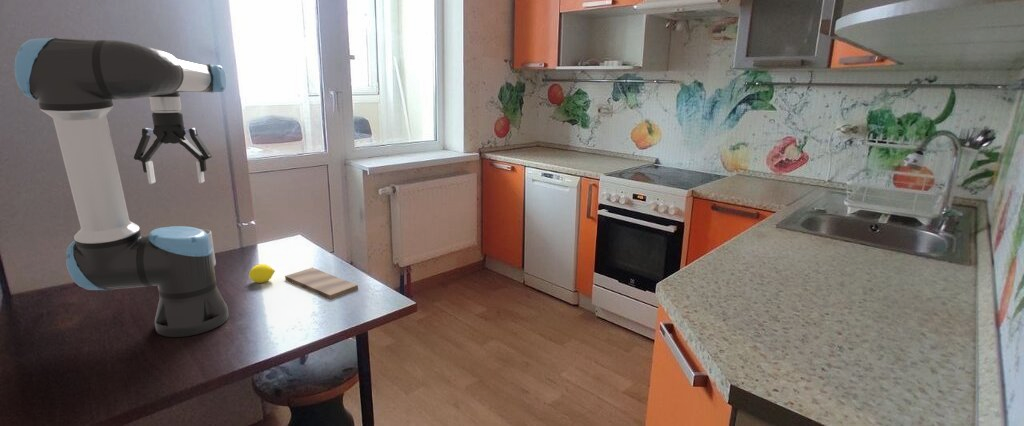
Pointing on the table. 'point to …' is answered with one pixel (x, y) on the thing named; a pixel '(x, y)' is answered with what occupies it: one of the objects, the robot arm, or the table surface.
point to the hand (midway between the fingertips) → (177, 182)
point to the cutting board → (321, 283)
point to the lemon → (261, 273)
